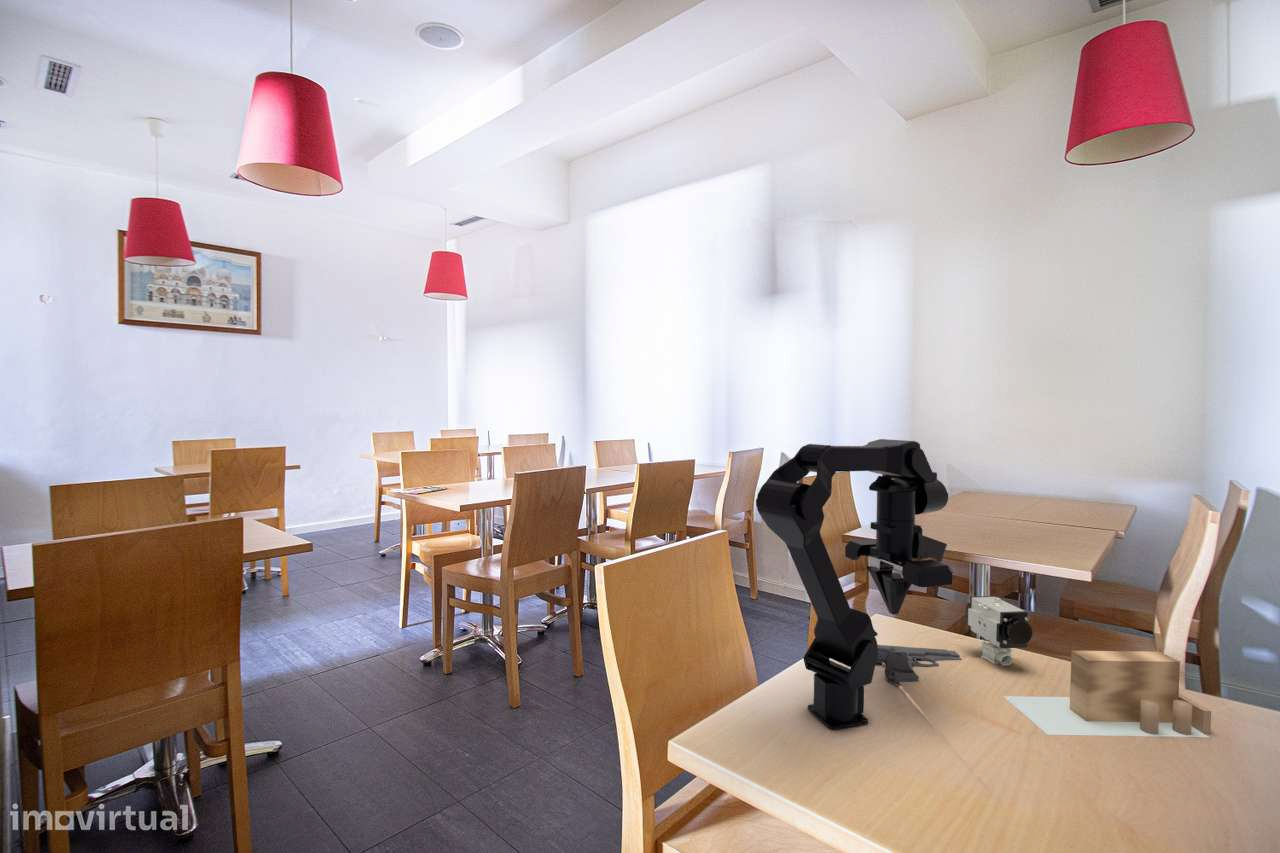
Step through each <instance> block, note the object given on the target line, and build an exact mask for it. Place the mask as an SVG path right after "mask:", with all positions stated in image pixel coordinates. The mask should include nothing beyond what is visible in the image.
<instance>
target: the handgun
mask: <svg viewBox="0 0 1280 853" xmlns="http://www.w3.org/2000/svg"><path fill="white" fill-rule="evenodd" d="M940 661H941V662H942V661H963V659H962V658H961V655H960V654H959V653H958V652H956V651H955V650H948V649H945V648H944V649H943V648H941V649H940V648H928V647H912V646H900V645H888V644H886V645H884V644H878V656H877V661H876V663H877V664H882V665H883V664H885V665H884V666H885V667H884V668H885V669H884V674H885V678H886V679H887V682H888V683H891V682H892V683H891V684H894V685H895V684H896V686H902V685H901V683H900V682H919V679H920V677H919V675H918V674H917V673H916V672H915V670H914V669H913V667H919V668H936V667H940V664H939V663H938V662H940ZM920 662H930V663H920Z"/></svg>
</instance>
